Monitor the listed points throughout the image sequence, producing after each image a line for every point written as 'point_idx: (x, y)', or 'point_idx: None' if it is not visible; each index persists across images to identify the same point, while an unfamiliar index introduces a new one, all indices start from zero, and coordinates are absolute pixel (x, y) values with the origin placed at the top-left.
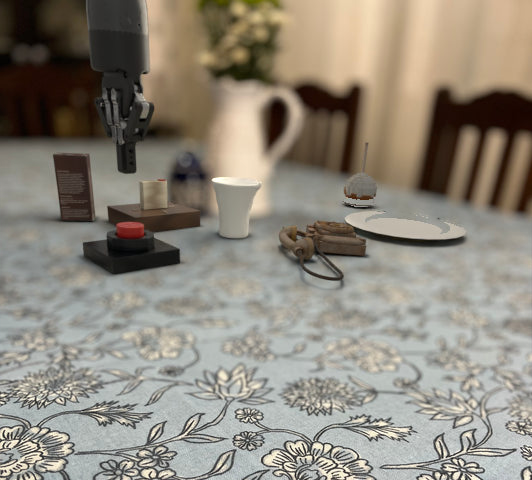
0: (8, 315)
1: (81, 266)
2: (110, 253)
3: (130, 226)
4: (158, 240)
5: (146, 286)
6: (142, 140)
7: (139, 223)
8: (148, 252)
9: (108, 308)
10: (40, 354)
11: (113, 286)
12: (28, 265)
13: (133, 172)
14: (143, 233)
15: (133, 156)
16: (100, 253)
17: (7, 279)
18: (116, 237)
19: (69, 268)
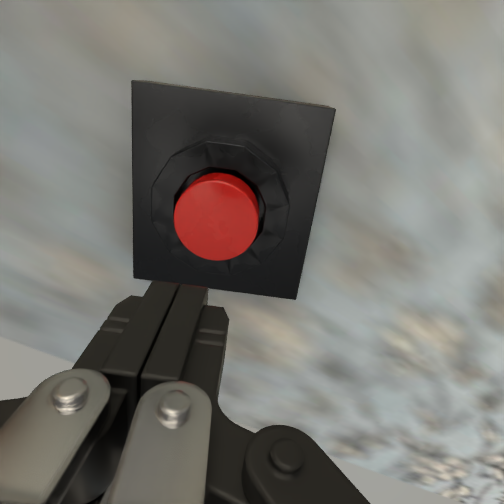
0: (344, 458)
1: None
2: (255, 280)
3: (234, 233)
4: (219, 101)
5: (398, 277)
6: (303, 441)
7: (214, 187)
8: (305, 207)
9: (428, 374)
10: (472, 479)
11: (351, 318)
12: None
13: (206, 298)
14: (250, 191)
15: (221, 365)
16: (233, 290)
17: None
18: (233, 265)
19: None
